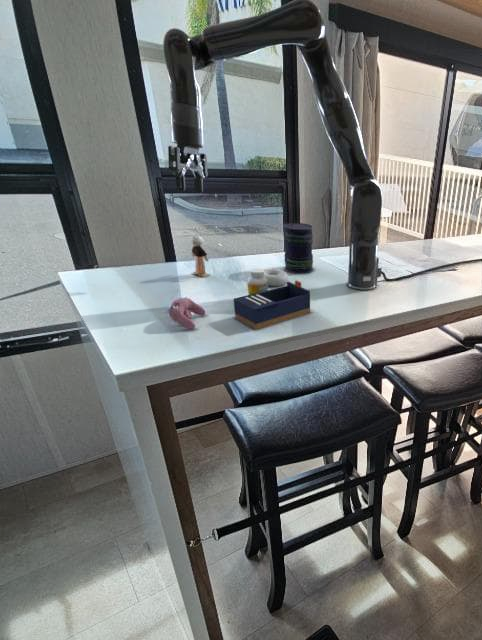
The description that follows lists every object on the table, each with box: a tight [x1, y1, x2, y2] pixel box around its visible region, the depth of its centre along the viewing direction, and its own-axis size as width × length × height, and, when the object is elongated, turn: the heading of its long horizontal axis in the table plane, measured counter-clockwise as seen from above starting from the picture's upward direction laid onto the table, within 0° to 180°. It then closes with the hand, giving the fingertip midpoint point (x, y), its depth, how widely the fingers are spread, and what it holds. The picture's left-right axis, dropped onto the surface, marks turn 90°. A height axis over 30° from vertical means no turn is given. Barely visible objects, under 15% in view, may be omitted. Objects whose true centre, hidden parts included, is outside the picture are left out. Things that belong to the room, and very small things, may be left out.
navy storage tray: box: [232, 279, 311, 330], centre depth 113 cm, size 18×9×8 cm, turn 142°
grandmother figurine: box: [190, 234, 210, 278], centre depth 133 cm, size 8×4×13 cm, turn 68°
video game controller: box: [167, 296, 206, 330], centre depth 105 cm, size 10×5×7 cm, turn 5°
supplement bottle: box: [246, 267, 269, 295], centre depth 119 cm, size 5×5×10 cm
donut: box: [263, 268, 289, 287], centre depth 136 cm, size 10×3×10 cm
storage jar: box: [283, 222, 314, 275], centre depth 147 cm, size 10×10×15 cm
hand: (190, 191), depth 118 cm, fingers open, 8 cm apart
